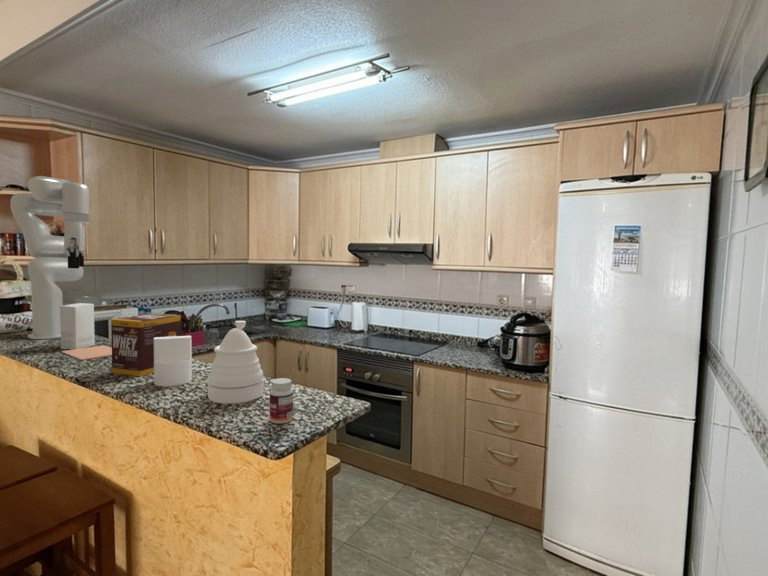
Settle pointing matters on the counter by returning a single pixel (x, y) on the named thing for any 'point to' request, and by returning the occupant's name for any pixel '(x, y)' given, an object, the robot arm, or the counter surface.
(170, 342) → the cylinder with rectangular tab
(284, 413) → the pill bottle
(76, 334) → the skincare box
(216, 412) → the counter surface
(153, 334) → the supplement box
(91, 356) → the mat
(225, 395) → the honey pot
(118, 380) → the counter surface
